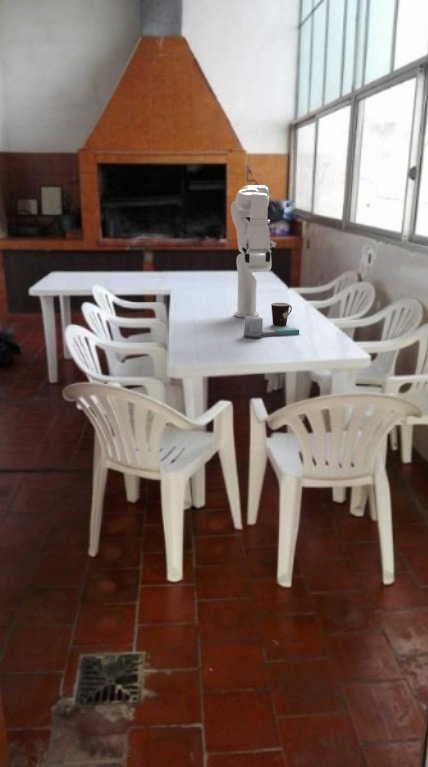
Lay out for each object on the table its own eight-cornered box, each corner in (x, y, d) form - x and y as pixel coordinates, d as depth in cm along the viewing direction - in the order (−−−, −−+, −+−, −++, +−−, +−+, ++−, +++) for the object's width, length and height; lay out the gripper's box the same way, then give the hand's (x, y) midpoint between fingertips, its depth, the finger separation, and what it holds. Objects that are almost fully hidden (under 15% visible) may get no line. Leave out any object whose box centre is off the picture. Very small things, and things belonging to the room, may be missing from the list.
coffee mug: (274, 327, 275) (275, 306, 272) (267, 323, 283) (268, 303, 280) (297, 326, 278) (298, 305, 275) (290, 322, 286) (291, 301, 282)
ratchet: (240, 334, 260) (241, 321, 258) (293, 331, 268) (294, 318, 266) (247, 339, 253) (247, 326, 251) (301, 335, 260) (302, 322, 258)
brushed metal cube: (244, 330, 259) (244, 316, 257) (257, 329, 260) (257, 315, 259) (249, 333, 253) (249, 319, 251) (262, 332, 255) (262, 318, 253)
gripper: (273, 222, 264) (271, 260, 270) (237, 222, 259) (236, 261, 265) (280, 223, 257) (278, 262, 263) (243, 223, 252) (242, 263, 258)
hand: (257, 262), depth 264 cm, fingers open, 9 cm apart
